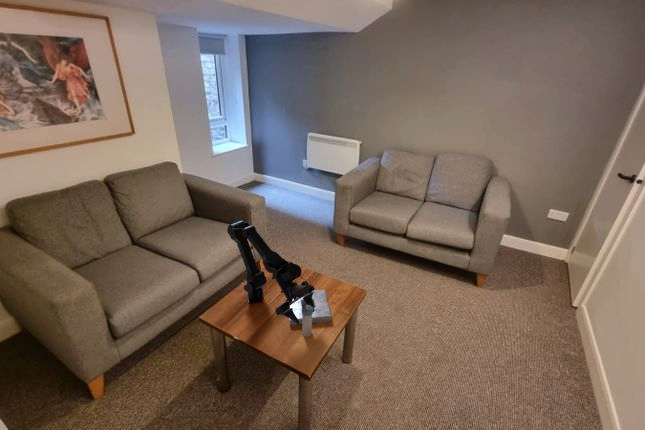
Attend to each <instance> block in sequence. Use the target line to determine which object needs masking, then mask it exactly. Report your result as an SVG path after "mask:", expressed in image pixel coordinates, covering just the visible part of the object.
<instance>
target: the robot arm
mask: <svg viewBox="0 0 645 430" xmlns="http://www.w3.org/2000/svg"><path fill="white" fill-rule="evenodd" d="M226 231H227V234H228V235H229V237H230V239H231V240H232V241H233V242H235V243H236V245H237V248H238V251H239V253H240V256H241V258H242V261H243V264H244V266H245V270H246V278H245V280H246V284H245V285H243V286H242V287H243V289H244V291H245V292H246V293H247V296H248V297H247V298H248V299H247V300H248V301H247V303H248V304H258V303H263V299H264V288H263V287H265V285H267V282H268V281H267V277H266V274H265V272H264V271H263V270H261V269H259V268H258V265H257V262H256V259H255V256H254V253H253V252H252V248H251V246H250V244H251V245H252V247H253V249H254V250H256V252H257V253H258V255H259V256H260V258H261V260H262V265H263V266H264V269H265V271H266V272H267V273H269V274H272V279H271V280H273V281H274V280H275V281H276V283H277V286H279V288H280V293H281V294H284V296H285V302H283V303H281V304H279V305H278V306H277V307H276V308H275V309H274V311H275V312H274V313H276V315H277V316H285V317H286V318H288V319H289V318H290V319H291V320H292V321H294V322H295V323H297V324H296V325H300V324H299V321H298V319H297V317H296V316H295V314H294V312H293V308H290V305H292V304H293V303H295V302H296V301H297V300H299V299H300V298H302V297H303V298H302V299H303V300H304V301H305V303H306V304H305V305H310V306H312V307H313V312H314V311H315V310H314V304H313V300H312V296H313V293H314V292H312V291H314V290H316V287H315V286H314V285H312V284H310V283H309V282H308V281H307V280H304V281H301V283H300V284H298V283H297V282H296V281H295V280H297V279H298V278H300V277H301V276H302V273H303V272H302V271H303V270H302V267H300V265H298V264H296V263H293V261H288V260H286V259H285V258H283V257H282V256H281V255H280V254H279V253H278V251H277V252H276V251H274V250H272V249H271V248H270V246H269V245H268V244H267V242H266V241H265V240H264V238H263V237H262V236H261V235H260V234H259V233H258V231H257V228H256V227H255V225H253V224H251V223H250V222H247V221H246V222H245V221H243V220H239V221H236V222H232V223H231V224H228V226H227V229H226ZM249 242H250V244H249ZM293 299H294V300H293Z"/></svg>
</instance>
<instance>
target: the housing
mask: <svg viewBox="0 0 645 430" xmlns="http://www.w3.org/2000/svg"><path fill="white" fill-rule="evenodd" d="M325 290H326V289H315V290H314V291H312V292H314V293H313V296H312V300H313V305H314V310H315V311H314V312H313V314H312V324H313V323H324V322H325V323H327V322H331V321H332V320H331V318H332V314H331V310H330V307H329V303H328V300H327V294H326V291H325ZM302 298H303V297H302ZM302 298H300V299H299V300H297V301H296V302H295V303H293V304H292V305H290V308H293V312H294V314H295V316H296V317H297V319H298V321H299V324H297V323H295V322H294V321H292V320H291V319H290V318H288V324H289V326H291V325H302V307H303V306H305V305H307V304H306V303H305V301H304V300H303V299H302ZM293 300H294V299H293ZM302 305H303V306H302Z"/></svg>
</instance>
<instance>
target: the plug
mask: <svg viewBox="0 0 645 430" xmlns="http://www.w3.org/2000/svg"><path fill="white" fill-rule="evenodd" d="M312 314H313V307H312V306H310V305H307V304H304V305H303V306H302V324H301V325H302V328H301V331H302V336H303V337H306V338H308V337H311V336H312V335H313V333H312V332H313V323H312Z"/></svg>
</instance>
